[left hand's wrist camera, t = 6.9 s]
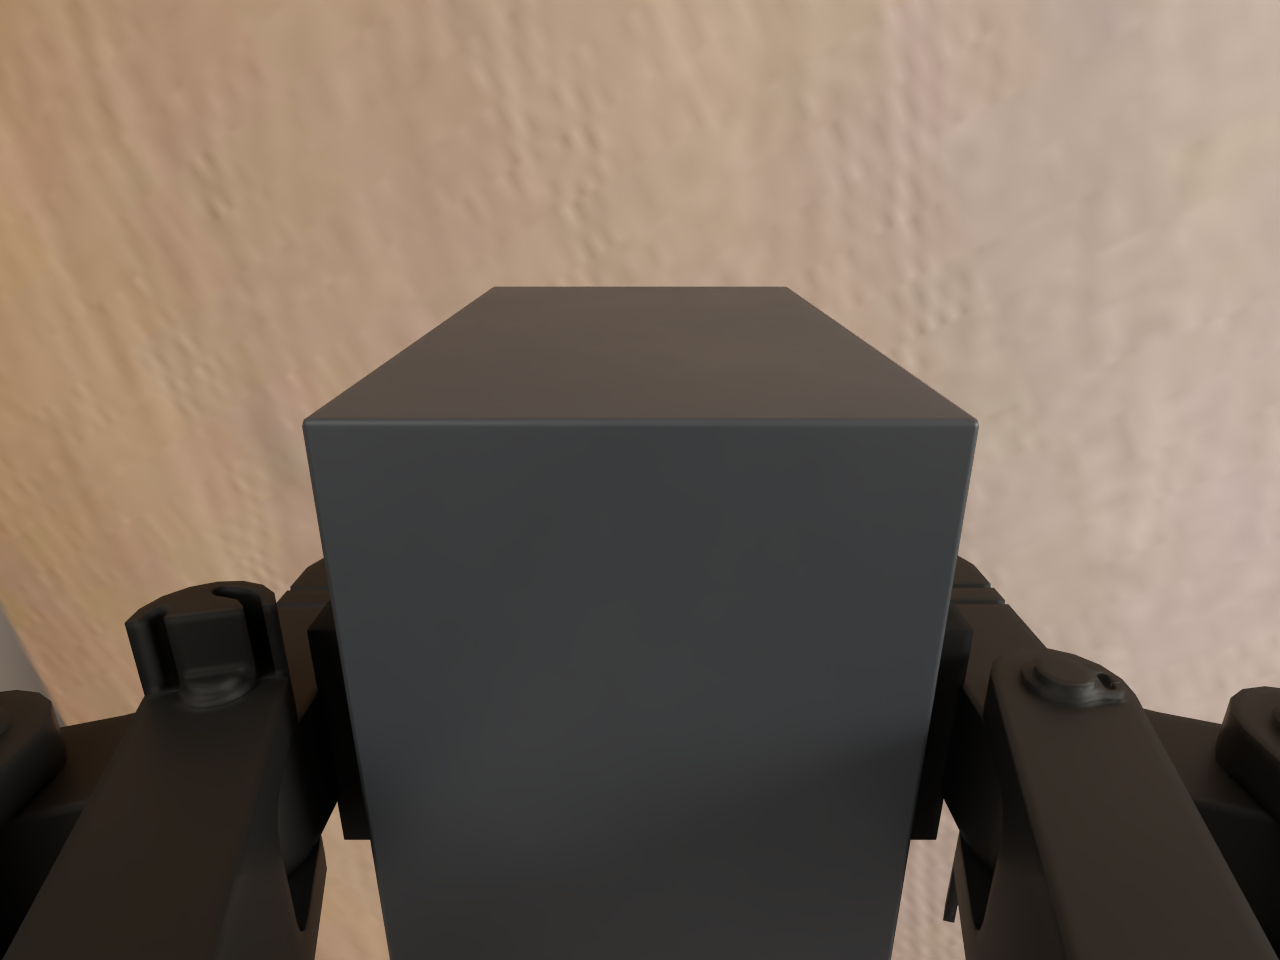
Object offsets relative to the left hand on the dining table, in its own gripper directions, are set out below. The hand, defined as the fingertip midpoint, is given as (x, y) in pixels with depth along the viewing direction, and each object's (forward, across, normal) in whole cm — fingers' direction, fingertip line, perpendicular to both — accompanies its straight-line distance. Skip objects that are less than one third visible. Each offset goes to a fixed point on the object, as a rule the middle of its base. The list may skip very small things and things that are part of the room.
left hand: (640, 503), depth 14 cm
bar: (+1, 0, -8) cm, 8 cm away
